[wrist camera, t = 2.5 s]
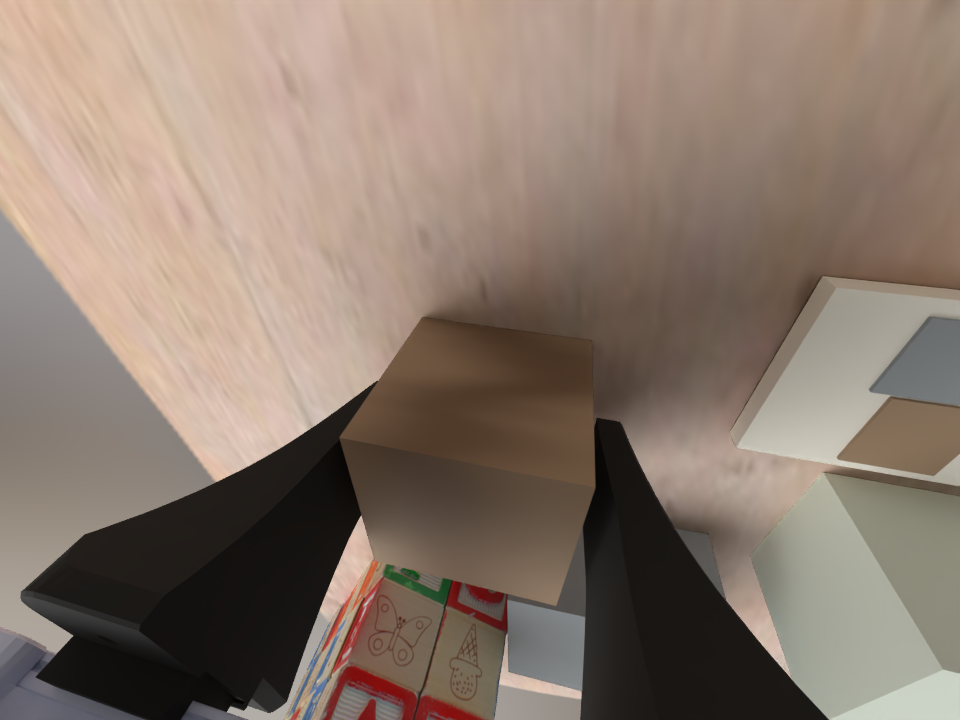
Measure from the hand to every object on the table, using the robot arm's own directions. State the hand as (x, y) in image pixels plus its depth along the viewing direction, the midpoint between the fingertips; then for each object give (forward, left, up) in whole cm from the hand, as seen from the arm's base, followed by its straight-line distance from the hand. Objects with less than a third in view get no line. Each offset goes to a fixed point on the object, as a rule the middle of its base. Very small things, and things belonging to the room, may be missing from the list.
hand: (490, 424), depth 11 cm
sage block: (-13, +4, -2) cm, 13 cm away
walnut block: (0, 0, -2) cm, 2 cm away
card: (-11, -2, -1) cm, 11 cm away
